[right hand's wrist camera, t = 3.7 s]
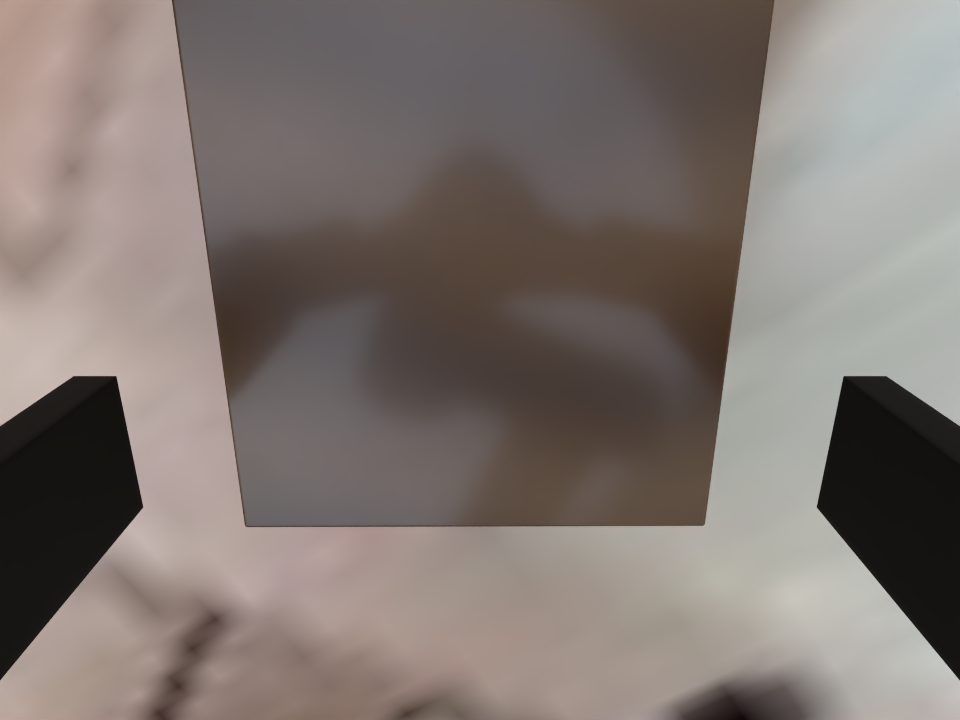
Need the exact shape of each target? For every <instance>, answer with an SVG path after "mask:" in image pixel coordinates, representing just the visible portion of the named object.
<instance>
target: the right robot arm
mask: <svg viewBox="0 0 960 720" xmlns="http://www.w3.org/2000/svg"><path fill="white" fill-rule="evenodd" d="M142 508H143V504H142V499H141V494H140V489H139V485H138V480H137V475H136V470H135V465H134V460H133V455H132V450H131V446H130V441H129V436H128V431H127V426H126V421H125V416H124V412H123V407H122V402H121V397H120V392H119V387H118V382H117V378H116V376H73V377H72V378H71V379H69V380H68V381H66V382H65V383H63V384H62V385H60V386H59V387H57V388H56V389H54V390H53V391H51V392H50V393H48V394H47V395H46V396H44V397H43V398H41V399H40V400H38V401H37V402H35V403H34V404H32V405H31V406H29V407H28V408H26V409H25V410H24V411H22V412H21V413H19V414H18V415H16V416H15V417H13V418H12V419H10V420H9V421H7V422H6V423H4V424H3V425H1V426H0V680H1V679H2V677H3V676H4V675H5V674H6V673H7V671H8V670H9V669H10V668H11V667H12V665H13V664H14V663H15V662H16V660H17V659H18V658H19V657H20V656H21V654H22V653H23V652H24V651H25V650H26V648H27V647H28V646H29V645H30V644H31V642H32V641H33V640H34V639H35V638H36V636H37V635H38V634H39V633H40V631H41V630H42V629H43V628H44V627H45V625H46V624H47V623H48V622H49V621H50V619H51V618H52V617H53V616H54V615H55V613H56V612H57V611H58V610H59V608H60V607H61V606H62V605H63V604H64V602H65V601H66V600H67V599H68V598H69V596H70V595H71V594H72V593H73V592H74V590H75V589H76V588H77V587H78V586H79V584H80V583H81V582H82V581H83V579H84V578H85V577H86V576H87V575H88V573H89V572H90V571H91V570H92V569H93V567H94V566H95V565H96V564H97V563H98V561H99V560H100V559H101V558H102V556H103V555H104V554H105V553H106V552H107V550H108V549H109V548H110V547H111V546H112V544H113V543H114V542H115V541H116V540H117V538H118V537H119V536H120V535H121V534H122V532H123V531H124V530H125V529H126V527H127V526H128V525H129V524H130V523H131V521H132V520H133V519H134V518H135V517H136V515H137V514H138V513H139V512H140V511H141V509H142ZM817 508H818V509H819V511H820V512H821V513H822V514H823V515H824V517H825V518H826V519H827V520H828V521H829V523H830V524H831V525H832V526H833V527H834V529H835V530H836V531H837V532H838V534H839V535H840V536H841V537H842V538H843V540H844V541H845V542H846V543H847V544H848V546H849V547H850V548H851V549H852V550H853V552H854V553H855V554H856V555H857V556H858V558H859V559H860V560H861V561H862V563H863V564H864V565H865V566H866V567H867V569H868V570H869V571H870V572H871V573H872V575H873V576H874V577H875V578H876V579H877V581H878V582H879V583H880V584H881V586H882V587H883V588H884V589H885V590H886V592H887V593H888V594H889V595H890V596H891V598H892V599H893V600H894V601H895V602H896V604H897V605H898V606H899V607H900V608H901V610H902V611H903V612H904V613H905V615H906V616H907V617H908V618H909V619H910V621H911V622H912V623H913V624H914V625H915V627H916V628H917V629H918V630H919V631H920V633H921V634H922V635H923V636H924V638H925V639H926V640H927V641H928V642H929V644H930V645H931V646H932V647H933V648H934V650H935V651H936V652H937V653H938V654H939V656H940V657H941V658H942V659H943V660H944V662H945V663H946V664H947V665H948V667H949V668H950V669H951V670H952V671H953V673H954V674H955V675H956V676H957V677H958V679H959V680H960V426H959V425H957V424H956V423H954V422H953V421H951V420H950V419H948V418H947V417H945V416H944V415H942V414H941V413H939V412H938V411H936V410H935V409H934V408H932V407H931V406H929V405H928V404H926V403H925V402H923V401H922V400H920V399H919V398H917V397H916V396H914V395H913V394H912V393H910V392H909V391H907V390H906V389H904V388H903V387H901V386H900V385H898V384H897V383H895V382H894V381H892V380H891V379H889V378H888V377H887V376H844V378H843V382H842V387H841V392H840V397H839V402H838V407H837V412H836V416H835V421H834V426H833V431H832V436H831V441H830V446H829V450H828V455H827V460H826V465H825V470H824V475H823V480H822V484H821V489H820V494H819V499H818V504H817Z"/></svg>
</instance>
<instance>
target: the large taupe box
mask: <svg viewBox="0 0 960 720" xmlns="http://www.w3.org/2000/svg"><path fill="white" fill-rule="evenodd" d="M172 4H173V11H174V18H175V25H176V33H177V40H178V47H179V54H180V61H181V68H182V76H183V83H184V90H185V97H186V104H187V112H188V119H189V126H190V133H191V140H192V148H193V155H194V162H195V169H196V176H197V184H198V191H199V198H200V205H201V212H202V219H203V227H204V234H205V241H206V248H207V255H208V263H209V270H210V277H211V284H212V291H213V299H214V306H215V313H216V320H217V327H218V334H219V342H220V349H221V356H222V363H223V370H224V378H225V385H226V392H227V399H228V406H229V414H230V421H231V428H232V435H233V442H234V449H235V457H236V464H237V471H238V478H239V485H240V493H241V500H242V507H243V514H244V521H245V526H246V527H411V526H703V525H704V524H705V518H706V511H707V503H708V496H709V488H710V481H711V473H712V466H713V458H714V450H715V443H716V435H717V428H718V420H719V413H720V405H721V398H722V390H723V383H724V375H725V368H726V360H727V353H728V345H729V338H730V330H731V323H732V315H733V307H734V300H735V292H736V285H737V277H738V270H739V262H740V255H741V247H742V240H743V232H744V225H745V217H746V210H747V202H748V195H749V187H750V179H751V172H752V164H753V157H754V149H755V142H756V134H757V127H758V119H759V112H760V104H761V97H762V89H763V82H764V74H765V67H766V59H767V52H768V44H769V36H770V29H771V21H772V14H773V6H774V0H172Z"/></svg>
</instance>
